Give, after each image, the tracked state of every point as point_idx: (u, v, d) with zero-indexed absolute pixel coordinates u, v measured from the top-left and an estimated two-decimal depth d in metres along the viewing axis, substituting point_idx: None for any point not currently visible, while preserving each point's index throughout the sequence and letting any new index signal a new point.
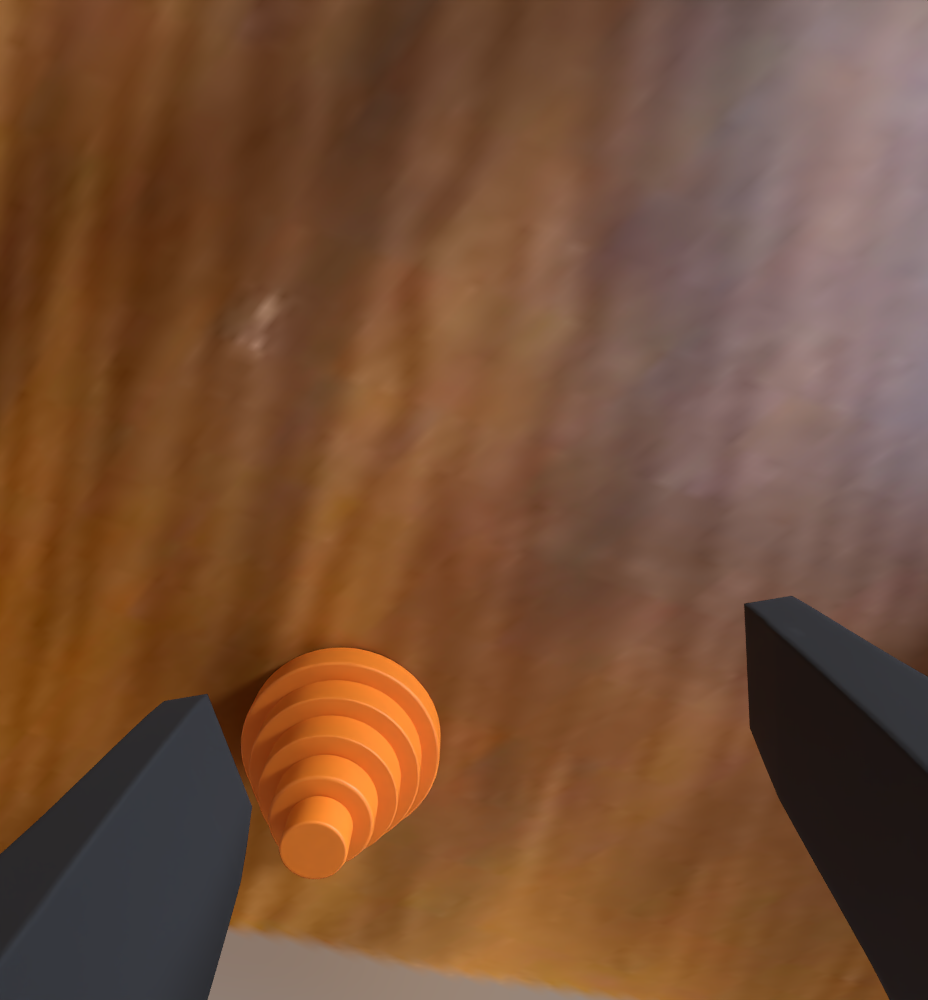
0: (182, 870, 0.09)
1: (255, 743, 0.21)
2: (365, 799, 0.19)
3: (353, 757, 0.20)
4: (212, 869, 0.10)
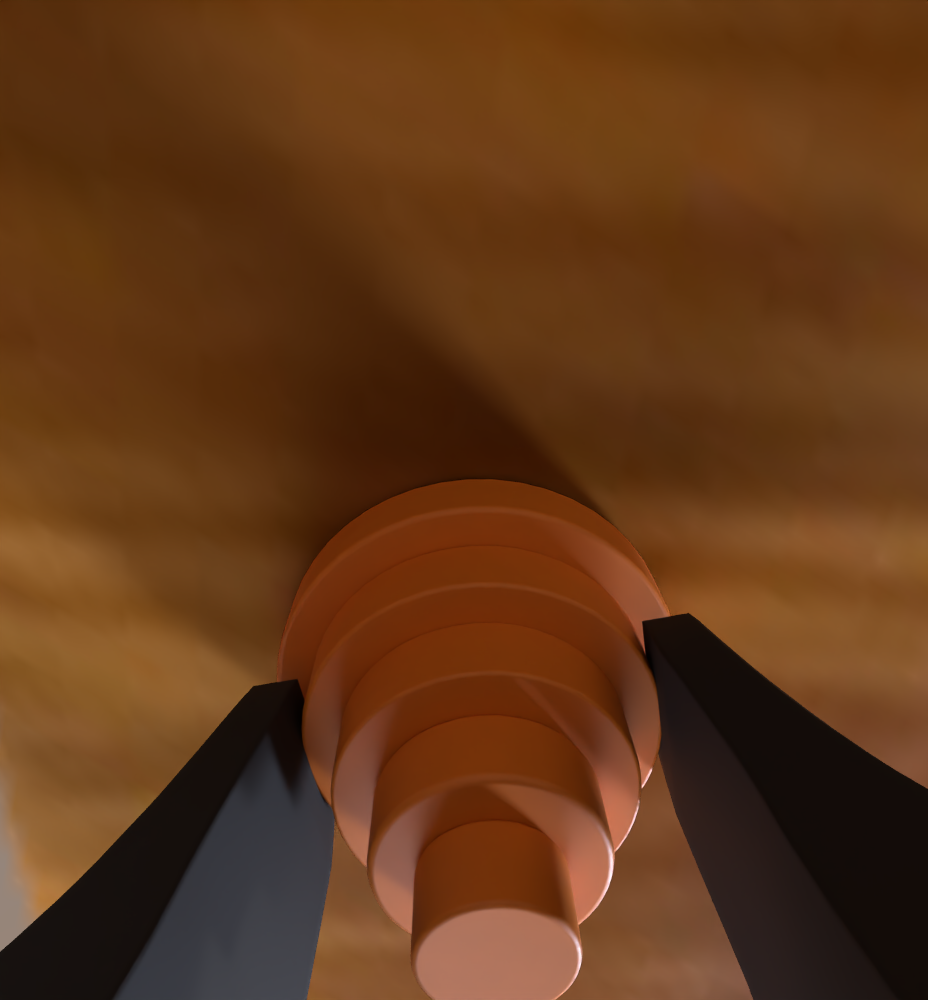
0: (285, 854, 0.09)
1: (527, 590, 0.09)
2: None
3: None
4: (308, 854, 0.10)
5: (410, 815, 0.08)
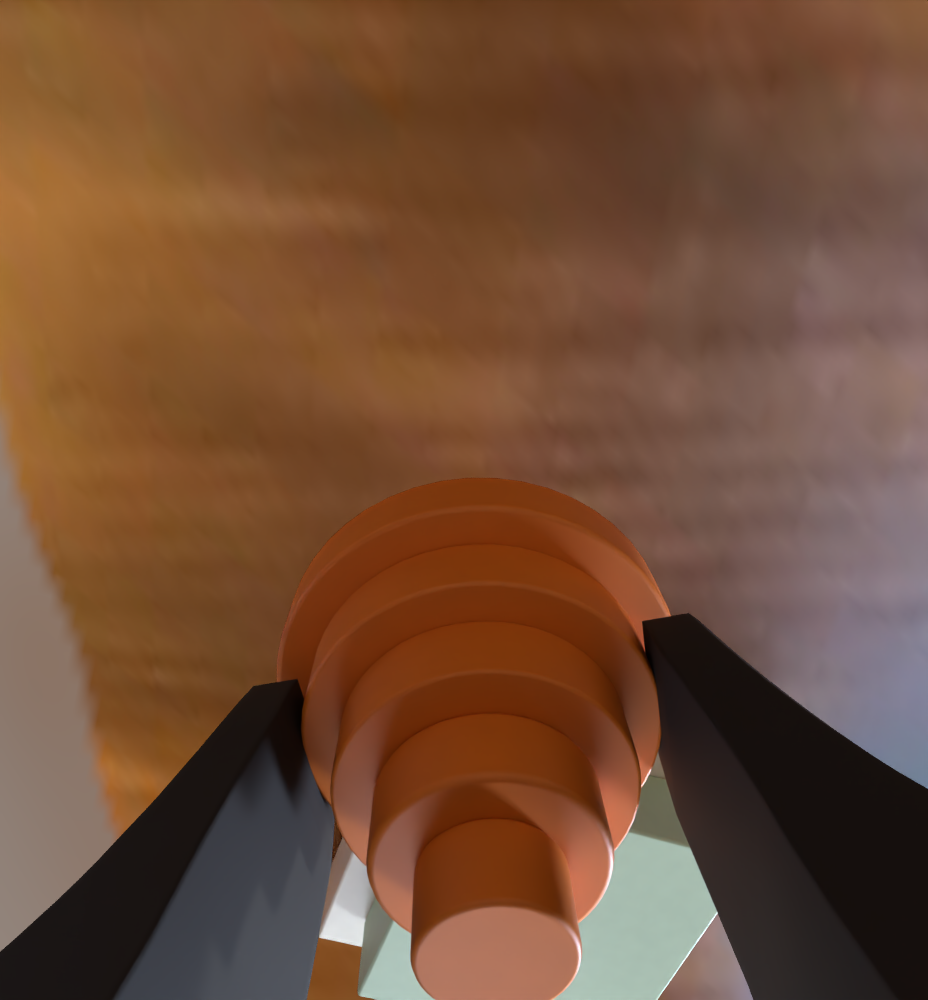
0: (285, 854, 0.09)
1: (527, 589, 0.09)
2: None
3: None
4: (308, 854, 0.10)
5: (410, 814, 0.08)
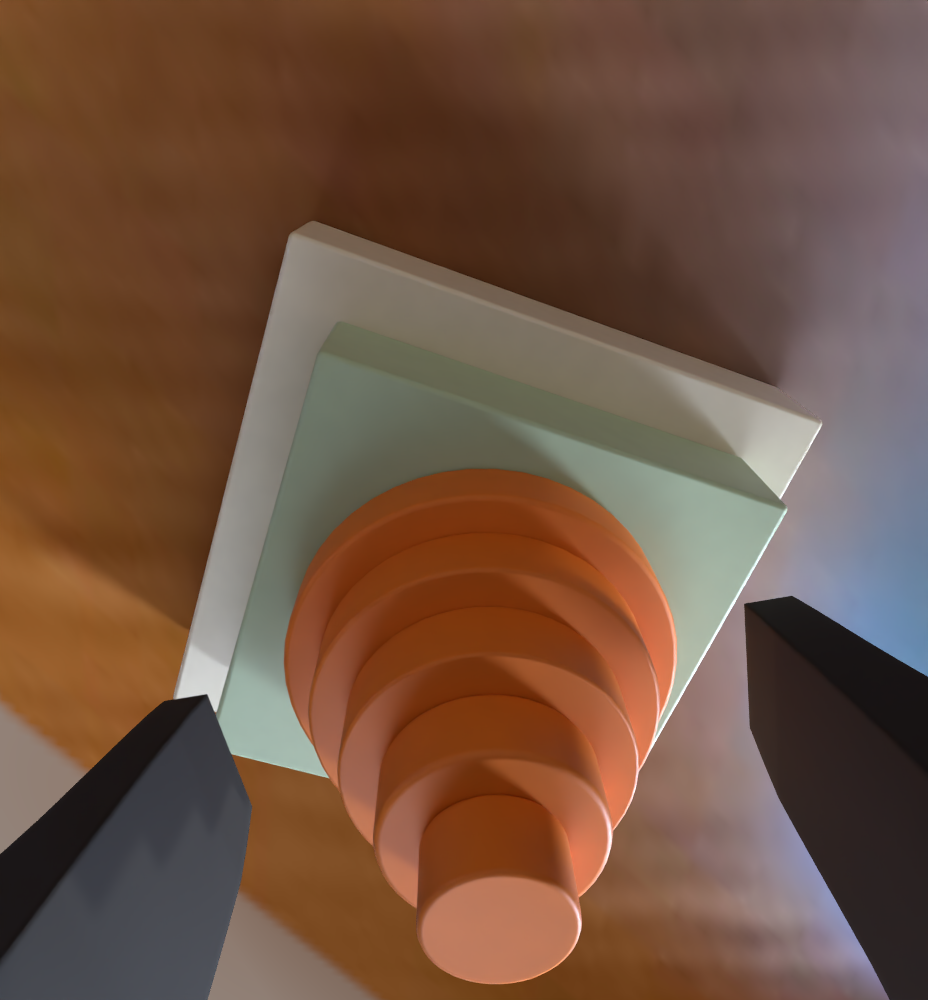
0: (182, 870, 0.09)
1: (528, 575, 0.09)
2: None
3: None
4: (212, 869, 0.10)
5: (415, 790, 0.08)
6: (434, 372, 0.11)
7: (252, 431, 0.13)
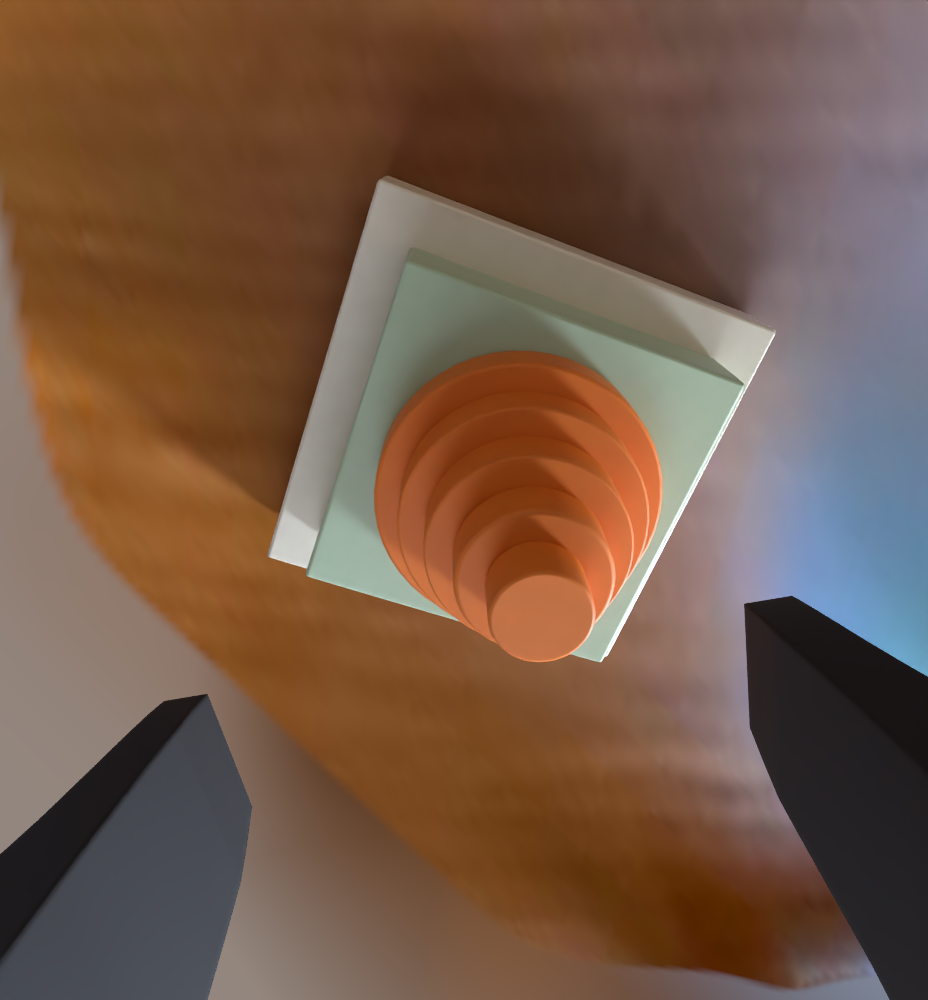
0: (182, 870, 0.09)
1: (557, 412, 0.13)
2: None
3: None
4: (212, 869, 0.10)
5: (484, 537, 0.12)
6: (485, 282, 0.15)
7: (342, 334, 0.17)
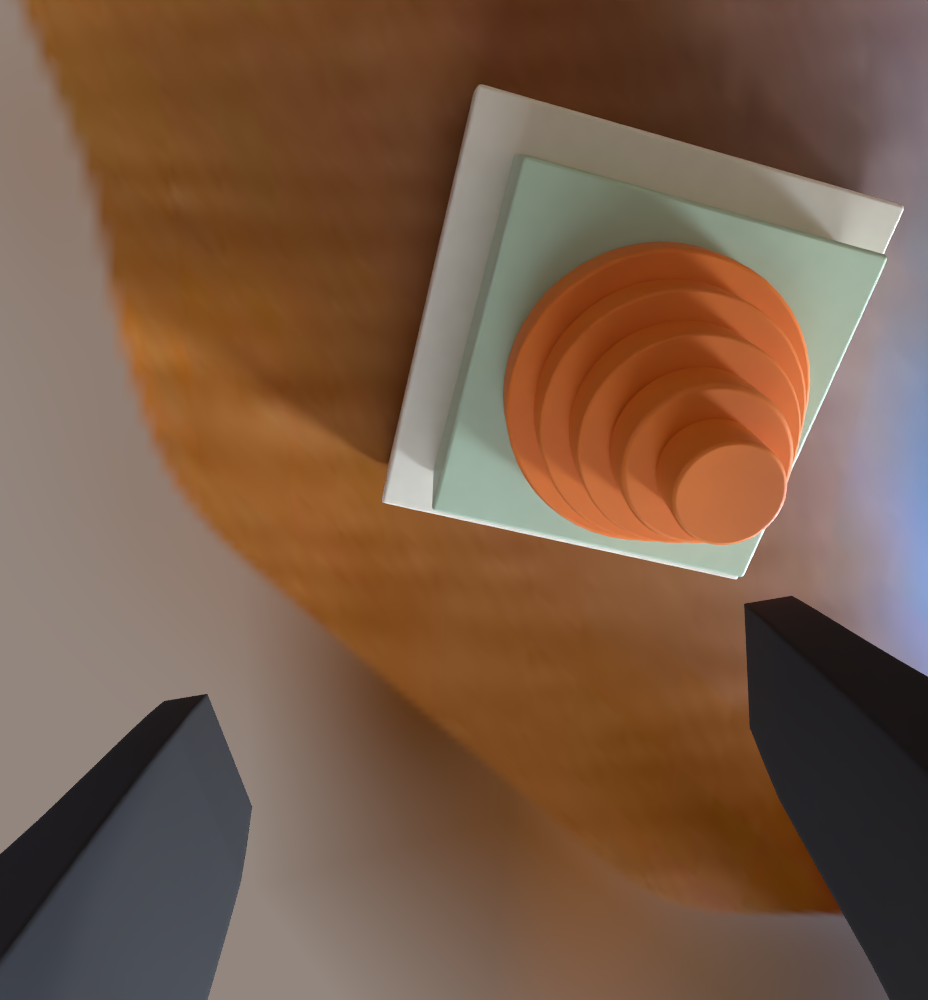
0: (182, 870, 0.09)
1: (706, 292, 0.13)
2: None
3: None
4: (212, 869, 0.10)
5: (654, 420, 0.11)
6: None
7: (448, 255, 0.16)
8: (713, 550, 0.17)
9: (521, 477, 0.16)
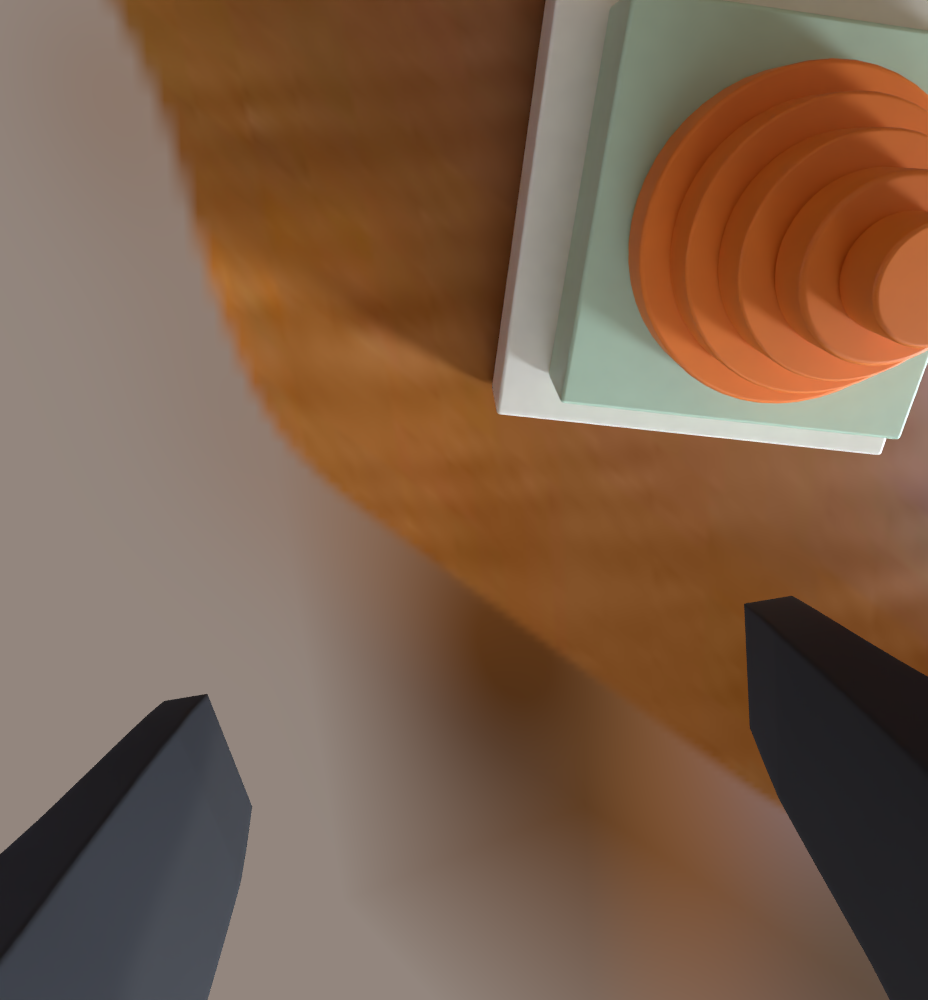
0: (182, 870, 0.09)
1: (860, 93, 0.12)
2: None
3: None
4: (212, 869, 0.10)
5: (834, 223, 0.10)
6: None
7: (547, 131, 0.15)
8: (865, 411, 0.16)
9: (654, 354, 0.15)
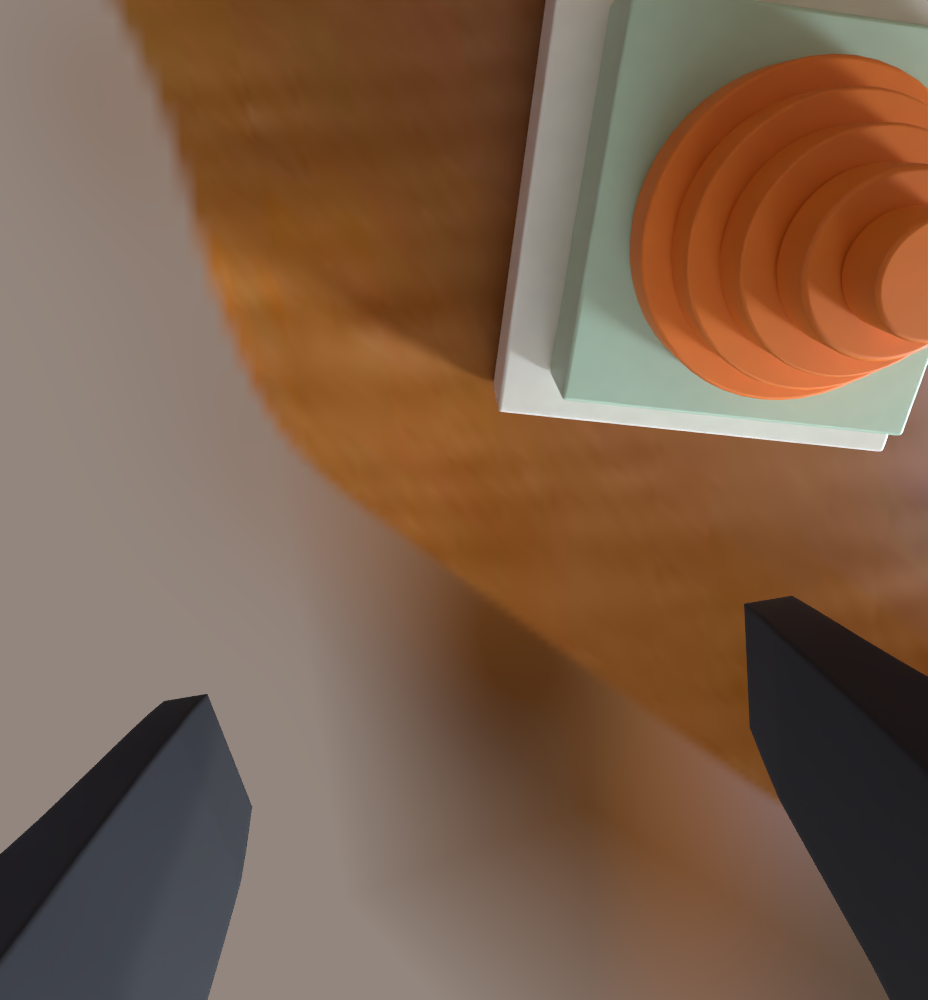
0: (182, 870, 0.09)
1: (862, 89, 0.12)
2: None
3: None
4: (212, 869, 0.10)
5: (836, 218, 0.10)
6: None
7: (548, 128, 0.15)
8: (867, 408, 0.16)
9: (655, 351, 0.15)
